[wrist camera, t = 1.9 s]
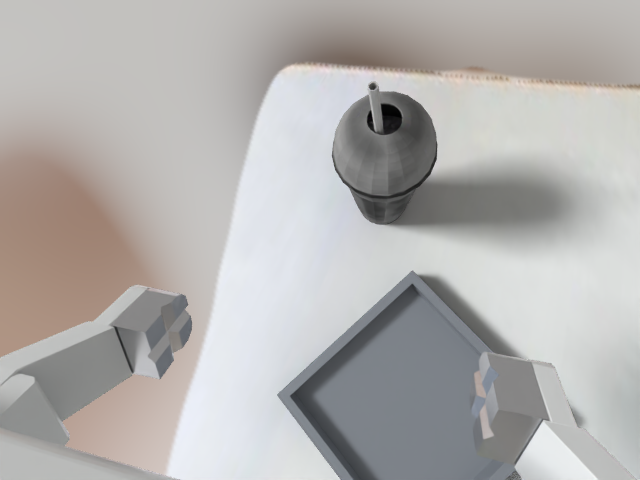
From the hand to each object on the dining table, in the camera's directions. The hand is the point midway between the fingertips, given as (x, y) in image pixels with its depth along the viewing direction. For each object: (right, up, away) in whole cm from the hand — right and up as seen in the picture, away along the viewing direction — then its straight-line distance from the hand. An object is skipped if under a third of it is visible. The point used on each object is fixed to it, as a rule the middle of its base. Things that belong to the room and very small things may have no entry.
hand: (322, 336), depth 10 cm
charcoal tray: (+8, -12, +22) cm, 26 cm away
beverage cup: (+6, +6, +27) cm, 28 cm away
